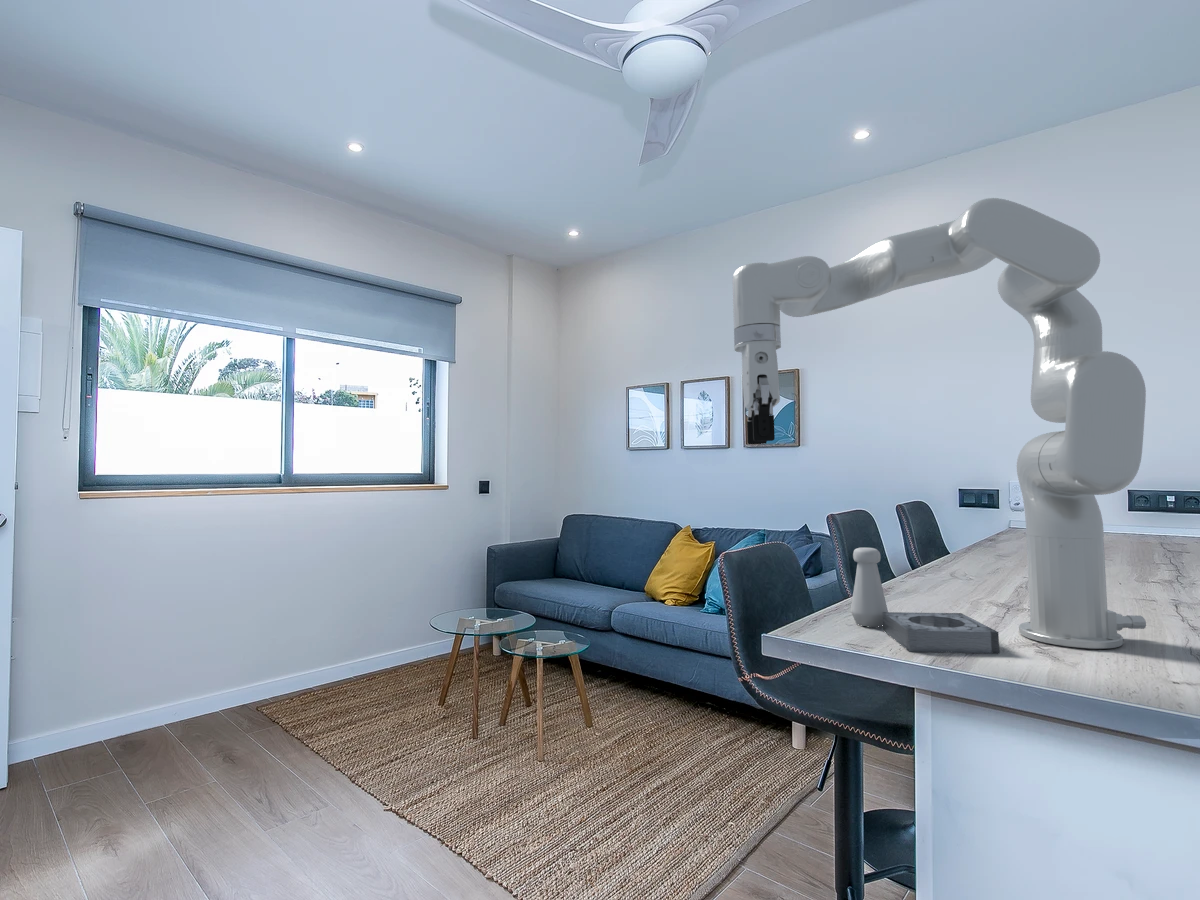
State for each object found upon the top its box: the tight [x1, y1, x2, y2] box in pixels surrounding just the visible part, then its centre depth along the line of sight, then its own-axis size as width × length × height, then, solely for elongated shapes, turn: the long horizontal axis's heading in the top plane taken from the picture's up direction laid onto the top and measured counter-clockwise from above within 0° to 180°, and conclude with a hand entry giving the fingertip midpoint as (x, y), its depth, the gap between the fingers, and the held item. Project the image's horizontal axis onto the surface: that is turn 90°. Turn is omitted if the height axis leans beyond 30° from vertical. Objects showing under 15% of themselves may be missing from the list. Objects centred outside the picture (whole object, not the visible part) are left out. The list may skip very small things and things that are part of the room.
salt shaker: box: [850, 547, 889, 628], centre depth 104 cm, size 6×6×13 cm
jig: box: [882, 611, 1000, 654], centre depth 93 cm, size 12×12×3 cm
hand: (760, 442), depth 101 cm, fingers open, 9 cm apart
